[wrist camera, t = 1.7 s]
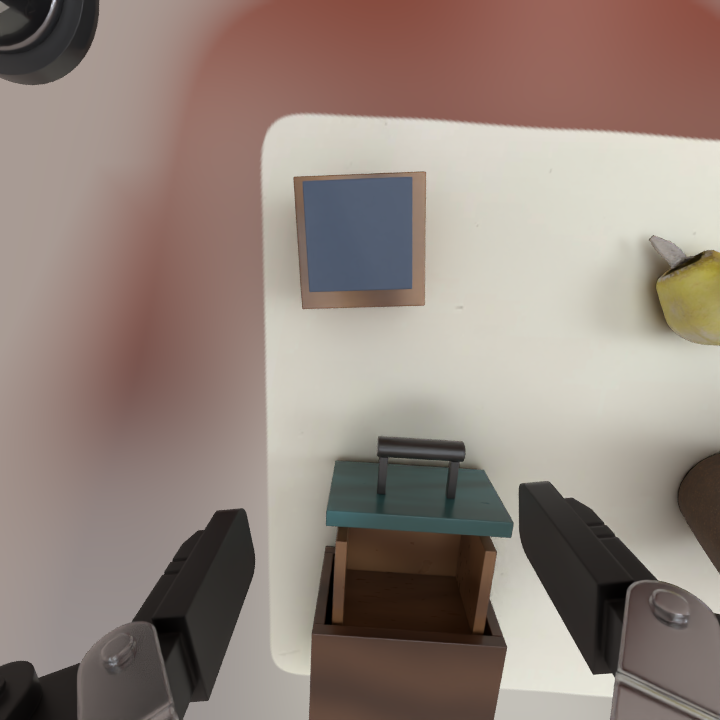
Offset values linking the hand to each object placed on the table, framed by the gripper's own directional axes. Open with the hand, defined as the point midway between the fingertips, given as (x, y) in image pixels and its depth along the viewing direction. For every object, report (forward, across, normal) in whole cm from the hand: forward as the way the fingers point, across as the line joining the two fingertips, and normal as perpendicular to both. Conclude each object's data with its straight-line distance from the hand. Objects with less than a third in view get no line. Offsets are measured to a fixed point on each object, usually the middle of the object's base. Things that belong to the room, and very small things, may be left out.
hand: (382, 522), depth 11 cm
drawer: (+19, -2, +12) cm, 23 cm away
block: (+12, 0, -8) cm, 15 cm away
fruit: (+20, -24, -3) cm, 31 cm away
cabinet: (+20, 0, +24) cm, 31 cm away
